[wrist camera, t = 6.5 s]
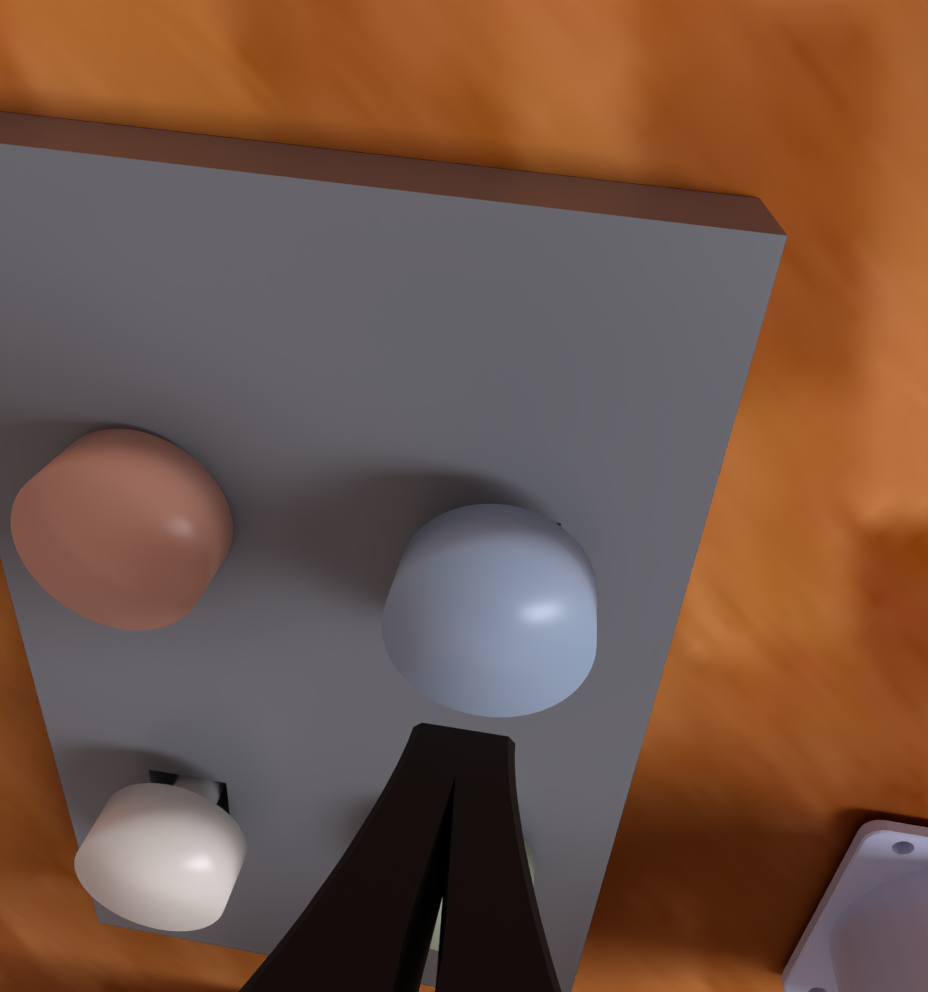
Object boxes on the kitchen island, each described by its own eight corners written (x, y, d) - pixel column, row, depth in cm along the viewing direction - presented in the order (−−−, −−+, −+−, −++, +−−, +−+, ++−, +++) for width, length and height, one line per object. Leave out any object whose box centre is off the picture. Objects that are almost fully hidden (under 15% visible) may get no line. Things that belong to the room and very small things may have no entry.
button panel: (759, 197, 14) (787, 235, 12) (568, 927, 26) (565, 1011, 24) (-16, 109, 15) (-116, 129, 13) (138, 849, 27) (98, 922, 25)
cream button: (273, 725, 21) (218, 851, 18) (279, 816, 23) (230, 942, 20) (138, 703, 21) (61, 822, 18) (154, 794, 23) (87, 915, 20)
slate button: (611, 457, 16) (614, 570, 13) (582, 603, 18) (578, 732, 15) (425, 431, 16) (384, 535, 13) (416, 578, 18) (378, 698, 15)
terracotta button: (267, 392, 17) (194, 482, 14) (274, 537, 19) (211, 643, 16) (98, 369, 17) (-9, 452, 14) (122, 514, 19) (32, 614, 16)
